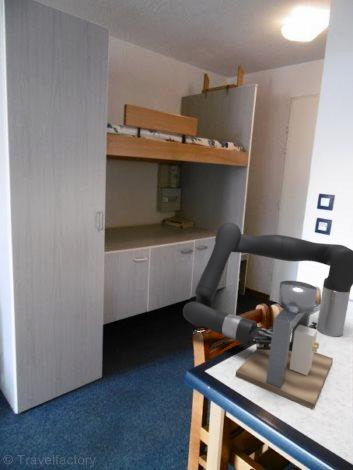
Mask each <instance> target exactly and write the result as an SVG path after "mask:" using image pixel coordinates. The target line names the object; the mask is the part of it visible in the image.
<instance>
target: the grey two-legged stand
mask: <svg viewBox="0 0 353 470" xmlns="http://www.w3.org/2000/svg"><path fill="white" fill-rule="evenodd" d="M278 289H279V290H278V298H277V306H278V307H280V308H281V309H282V310H281V311H280V312H279V313H278V314H277V315H276V316H275V317H274V319H273V326H272V327H273V333H272V340H271V348H270V355H269V363H268V370H267V378H266V383H268V384H270V385H273V386H275V387H278V388H280V389H281V387H282V386H283V384H284V380H285V373H286V366H287V359H288V352H289V345H290V342H293V340H294V333H295V330H296V328H297V327H298V326H299V325H302V326H306V327H308V326H310V317H311V313H313V312H315V307H316V301H317V294H318V288H317V287H316V286H314V285H312V284H310V283H307V282H303V281H298V280H282V281H280V283H279V288H278Z"/></svg>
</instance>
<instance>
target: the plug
mask: <svg viewBox="0 0 353 470" xmlns="http://www.w3.org/2000/svg"><path fill="white" fill-rule="evenodd" d="M317 333H318V330H317V329H312V328H309V327H306V326H302V325H299V326H298V327H297V328H296V330H295V333H294V340H293V347H292V354H291V361H290V368H289V369H291V370H294V371H296V372H299V373H301V374H304V375H308V373H309V371H310V369H311V366H312V360H313V354H314V352H316V353H318V352H317V351H318V349H319V347H320V342H317Z"/></svg>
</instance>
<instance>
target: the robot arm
mask: <svg viewBox="0 0 353 470" xmlns="http://www.w3.org/2000/svg"><path fill="white" fill-rule="evenodd" d="M232 253H239V254H243V253H244V254H251V255H255V256H259V257H264V258H271V259H275V260H279V261H286V262H312V263H313V262H314V263H317V264H318V263H319V264H323V265H325V266H329V271H328V276H327V277H326V278H324V281H323V284H322V291H321V298H320V304H319V310H318V316H317V317H318V318H317V322H316V323H317V325H316V327H317V329H316V330H317V331H318V332H320V333H322V334H324V335H327V336H331V337H341V336H343V335H344V328H345V323H346V318H347V313H348V312H347V311H348V308H349V307H348V306H349V302H350V294H351V291H352V287H353V249H351V248H349V247H347V246H345V245H343V244H337V243H336V244H333V243H321V242H320V243H319V242H313V241H311V240H306V239H301V238H298V237H294V236H293V237H292V236H288V235H281V234H265V235H249V234H243V233H242V231H241V229H240V227H239V226H238V225H237V224H236V223H234V222H224V223H223V224H221V225H220V226H219V227H218V228H217V230H216V234H215V238H214V247H213V249H212V252H211V255H210V257H209V259H208V261H207V263H206V266H205V267H204V270H203V271H202V274H201V275H200V278H199V280H198V283H197V285H196V288H195V291H194V294H195V298H196V300H195V301H190V302H188V303H186V304H185V305H184V307H183V309H182V315H183V317H184V319H185V320H186V321H187V322H189V323H190V324H191V325H193V326H194V327H198V328H199V327H200V328H201V327H202V326H203V327H205V328H207V329H208V330H210V331H212V332H214V333H217V334H219V335H222V336H225V337H227V338H229V339H231V340H233V341H237V342H240V343H242V344H245V345H248V346H250V345H253V344H255V345H256V349H259V350H270V348H271V340H272V333H273V326H270V327H269V329H267V328H264V327H259V326H258V323H257V322H256V321H255V320H251V319H249V318H245V317H242V316H238V315H235V314H230V313H227V312H224V311H221V310H216V309H214V308H212V306H213V301H214V297H215V295H216V292H217V291H218V288H219V285H220V283H221V279H222V277H223V274H224V270H225V268H226V266H227V262H228V261H229V257H230V256H231V254H232ZM292 347H293V342H291V341H290V345H289V351H291V352H292ZM256 349H255V350H256Z"/></svg>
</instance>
